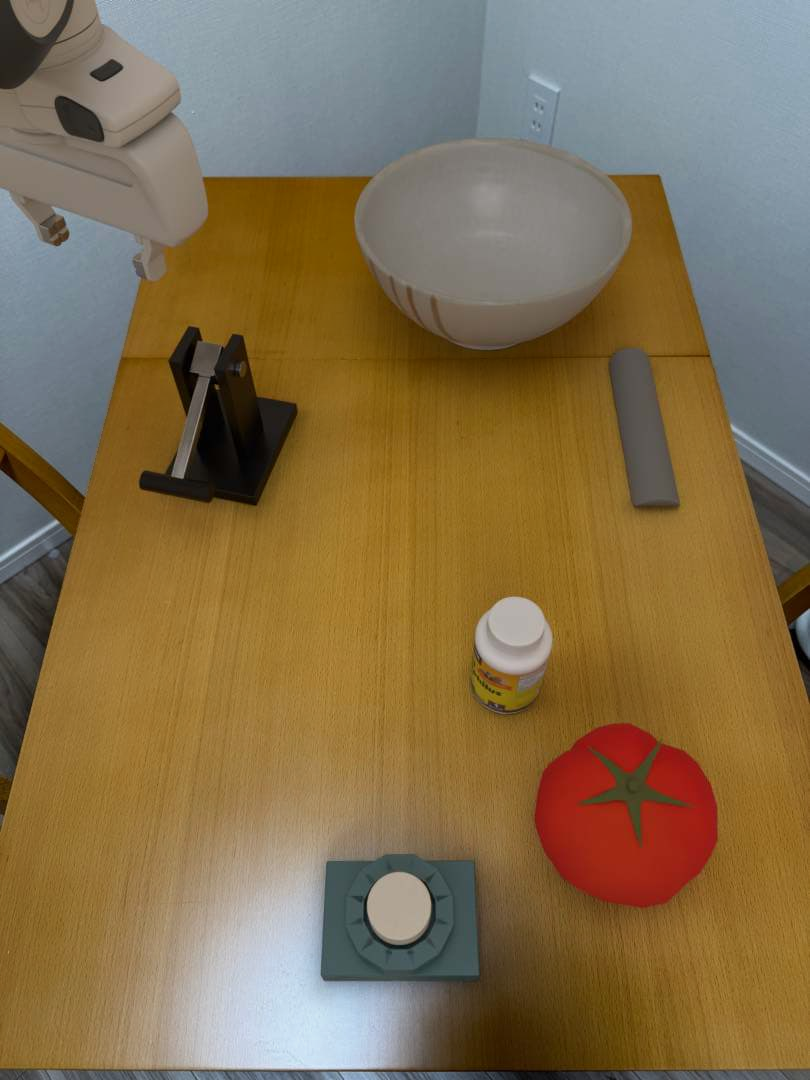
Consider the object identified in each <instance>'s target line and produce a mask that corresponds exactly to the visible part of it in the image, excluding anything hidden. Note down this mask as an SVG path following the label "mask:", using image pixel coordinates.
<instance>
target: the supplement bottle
mask: <svg viewBox="0 0 810 1080" xmlns="http://www.w3.org/2000/svg"><path fill="white" fill-rule="evenodd" d="M552 649H553V633H552V629H551V626H550V625H549V623H548V621H547V619H546V618H545V615H544V613H543V611H542V609H541V608H540V607H539V605H538V604H537V603H535V602H534V601H532V600H530V599H528V598H526V597H521V596H507V597H505V598H502V599H500V600H498V601H497V602H495V603H494V604H493V605H492V607H491V608H489V609H488V610H487V611H486V612H485V613H484V614H483V615H482V616H481V617H480V619H479V620H478V622H477V624H476V627H475V631H474V639H473V648H472V655H471V656H472V657H471V666H470V674H469V684H470V688H471V690H472V693H473V695H474V697H475V698H476V700H477V701H478V702H479V703H480V704H481V705H482V706H484V707H485V708H486V709H488V710H490V711H491V712H494V713H498V714H502V715H503V714H504V715H513V714H518V713H520V712H523V711H525V710H527V709H528V708H529V707H531V706H532V705H533V704H534V702H535V701H536V700H537V698H538V696H539V695H540V692H541V688H542V686H543V681H544V678H545V675H546V671H547V667H548V664H549V660H550V657H551V653H552Z"/></svg>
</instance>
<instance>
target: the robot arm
mask: <svg viewBox="0 0 810 1080" xmlns="http://www.w3.org/2000/svg"><path fill="white" fill-rule="evenodd" d="M181 101H182V95H181V89H180V85H179V82H178V79H177V77H176V76H175V74H174V73H173V72H171V70H169V69H168V68H166V67H165V66H164V65H162V64H161V63H159V62H157V61H155V60H154V59H152V58H150V57H149V56H147V55H146V54H144V53H143V51H141V50H139V49H137V48H136V47H134V46H133V45H132V44H130V43H129V42H128V41H126V40H125V39H124V38H123V37H122V36H121V35H119V34H118V33H117V32H116V31H115V30H114V29H112V28H111V27H110V26H108V25H107V24H104V23H102V22H101V17H100V14H99V10H98V6H97V3H96V0H0V189H3V190H5V191H8V193H9V195H10V198H11V200H12V202H13V203H14V204H15V205H16V206H17V207H18V209H20V211H21V212H22V213H23V215H24V216H25V217H26V218H27V219H28V220H29V221H30V223H31V224H33V227H34V229H35V232H36V234H37V237H38V239H39V241H40V242H42V243H46V244H49V245H50V246H54V247H60V246H61V245H62V243H65V242H66V241H67V240H69V238H70V230H69V228H68V227H67V223H66V219H65V217H64V216H63V215H61V214H58V213H56V212H55V210H54V208H57V209H60V210H63V211H65V212H69V213H72V214H75V215H77V216H80V217H83V218H85V219H89V220H92V221H95V222H98V223H100V224H103V225H106V226H109V227H112V228H115V229H118V230H120V231H124V232H126V233H129V234H132V235H134V240H135V242H136V243H137V244H138V245H141V246H142V249H141V250H140V252H138V253H136V254H135V255H134V256H133V257H131V262H132V265H133V267H134V268H135V274H136V276H138V277H140V278H142V279H145V280H147V281H150V282H153V283H156V282H158V281H159V280H160V279H161V278H162V277H163V276H165V275H166V273H167V269H168V267H167V263H166V260H165V256H164V252H165V249H166V247H169V248H178V247H180V246H182V245H183V244H184V243H186V242H187V241H188V240H189V239H190V238H191V237H193V236H194V235H195V234H196V233H197V232H198V231H199V230H200V229H201V228H202V227H203V226H204V224H205V223H206V220H208V217H209V204H208V203H209V202H208V197H207V192H206V187H205V181H204V178H203V174H202V170H201V166H200V162H199V157H198V154H197V151H196V148H195V145H194V142H193V139H192V137H191V134H190V131H188V129H187V127H186V125H185V124H184V122H183V121H182V120H181V119H180V117H178V116H177V115H176V114H175V113H174V112H173V111H174V110H175V109H176V108H177V107H178V106H179V105H180V104H181ZM53 207H54V208H53Z"/></svg>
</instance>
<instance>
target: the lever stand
mask: <svg viewBox="0 0 810 1080" xmlns="http://www.w3.org/2000/svg"><path fill="white" fill-rule="evenodd" d="M198 341H202V342H204V340H203V337H202V333H201V330H200V327H198V326H192V325H188V326H187V328H186V329H185V332H184V333H183V334H182V336H181V338H180V340H179V341H178V343H177V345H176V347H175V348H174V350H173V351H172V353H171V355H170V356H169V359H168V360H167V362H168V365H169V368H170V371H171V373H172V377H173V380H174V383H175V386H176V389H177V393H178V396H179V399H180V401H181V405H182V408H183V411H184V414H185V418H187V416H188V413H189V409H190V405H191V402H192V398H193V394H194V391H195V387H196V383H197V379H196V378H195V377H194V376H193V375H192V374H191V373H190V372H189V371H190V367H191V364H192V360H193V356H194V353H195V349H196V345H197V342H198ZM246 346H247V345H246V342H245V337H244V335H243V334H238V333H232V334H231V335H230V337H229V339H228V341H227V343H226V345H225V346H224V350H223V352H222V354H221V356H220V358H219V360H218V361H217V363H216V365H215V367H214V372H215V376H216V379H217V383H218V385H217V388H218V389H217V388H216V385H214V384H213V387H212V391H211V395H210V398H209V402H208V406H207V409H206V413H205V417H204V421H203V424H202V428H201V432H200V435H199V439H198V443H197V447H196V450H195V454H194V458H193V461H192V465H191V469H190V473H189V476H188V479H193V480H198V481H203V482H208V483H212V484H214V487H215V492H214V497H213V498H215V499H221V500H226V501H231V502H235V503H240V504H245V505H250V506H257V505H258V502H259V501H260V498H261V496H262V494H263V491H264V489H265V487H266V485H267V482H268V480H269V478H270V476H271V473H272V472H273V469H274V466H275V464H276V463H277V460H278V457H279V455H280V453H281V451H282V449H283V446H284V444H285V442H286V439H287V438H288V435H289V433H290V431H291V428H292V426H293V424H294V421H295V420H296V417H297V415H298V406H297V403H296V402H291V401H285V400H278V399H275V398H274V399H273V398H267V397H263V396H257V392H256V386H255V383H254V379H253V378H254V377H253V374H252V370H251V364H250V360H249V356H248V351H247V347H246ZM178 449H179V447H178V448H177V450H176V452H175V454H174V456H173V458H172V460H171V462H170V463H169V466H168V467H167V469H166V471H165V473H164V474H167V475H172V471H173V468H174V464H175V460H176V457H177V453H178Z"/></svg>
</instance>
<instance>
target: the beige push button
mask: <svg viewBox="0 0 810 1080" xmlns="http://www.w3.org/2000/svg"><path fill="white" fill-rule="evenodd" d="M367 912H368V917H369V921H370V924H371V927H372V929H373V930H374V932H375V933H376V935H377V936H378V937H379V938H381V939H382V940H383V941H385V942H387V943H390V944H393V945H406V944H409V943H412V942H414V941H416V940H417V939H418V938H420V937H421V936H422V935H423V933H424V932H425V931H426V929H427V927H428V925H429V922H430V918H431V898H430V895H429V892H428V890H427V888H426V886H425V885H424V884H423V882H422V881H421V880H420V879H418V878H417V877H416V876H414V875H412V874H409V873H406V872H393V873H390V874H387V875H385V876H383V877H382V878H380V879H379V880H378V881H377V882H376V883H375V884H374V886H373V887H372V889H371V891H370V893H369V896H368V900H367Z"/></svg>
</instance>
